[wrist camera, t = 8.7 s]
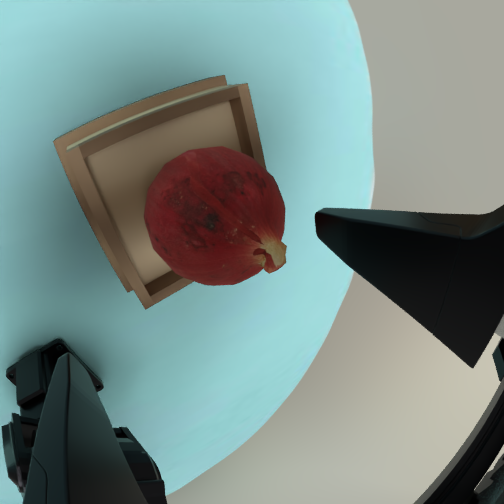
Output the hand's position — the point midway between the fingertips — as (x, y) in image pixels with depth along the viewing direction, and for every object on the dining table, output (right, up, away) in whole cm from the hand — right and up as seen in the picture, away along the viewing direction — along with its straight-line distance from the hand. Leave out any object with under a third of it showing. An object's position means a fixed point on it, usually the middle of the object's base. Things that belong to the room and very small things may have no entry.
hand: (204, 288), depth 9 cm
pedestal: (-4, +6, +10) cm, 12 cm away
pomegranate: (-2, +4, +7) cm, 8 cm away
